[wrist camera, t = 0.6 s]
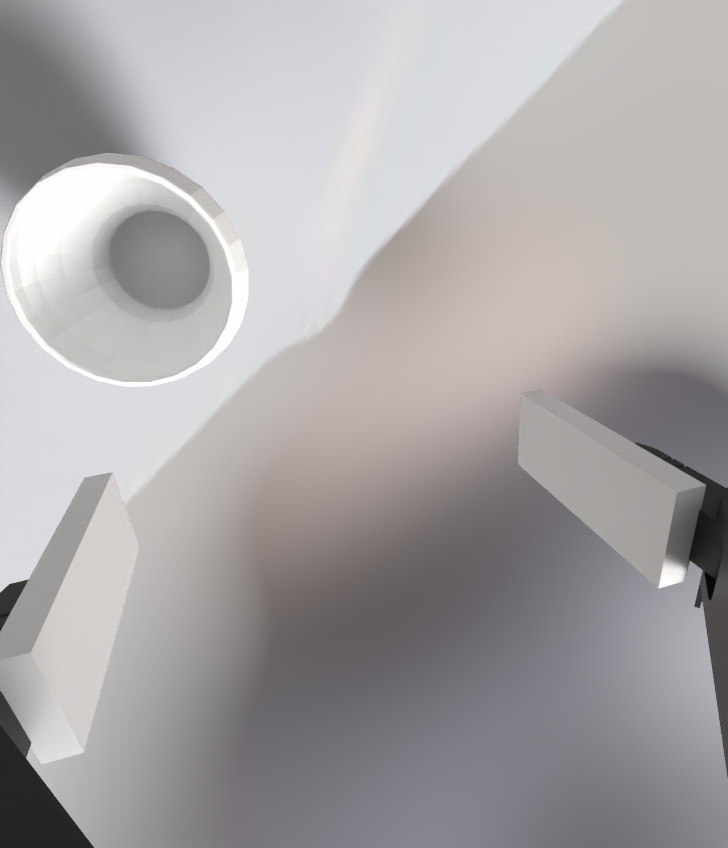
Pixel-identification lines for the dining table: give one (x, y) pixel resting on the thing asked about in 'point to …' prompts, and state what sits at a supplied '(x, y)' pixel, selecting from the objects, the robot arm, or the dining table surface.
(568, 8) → the dining table surface
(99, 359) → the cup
